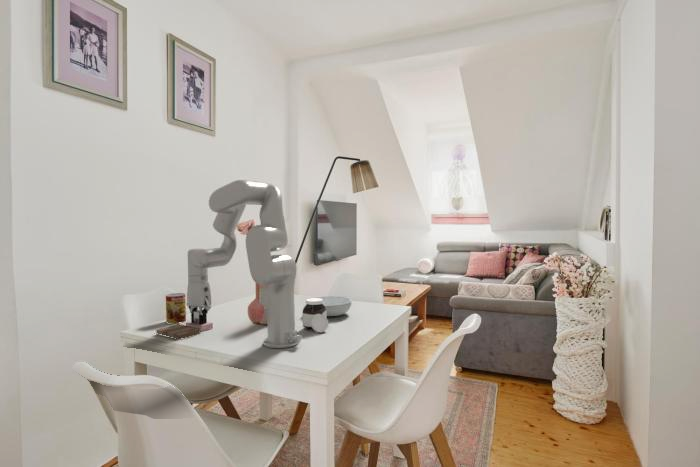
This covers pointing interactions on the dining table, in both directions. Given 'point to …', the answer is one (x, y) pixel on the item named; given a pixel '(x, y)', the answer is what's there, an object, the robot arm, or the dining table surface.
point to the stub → (196, 322)
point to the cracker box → (263, 302)
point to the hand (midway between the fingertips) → (199, 322)
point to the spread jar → (315, 315)
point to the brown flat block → (178, 331)
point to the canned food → (175, 308)
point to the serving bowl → (336, 304)
